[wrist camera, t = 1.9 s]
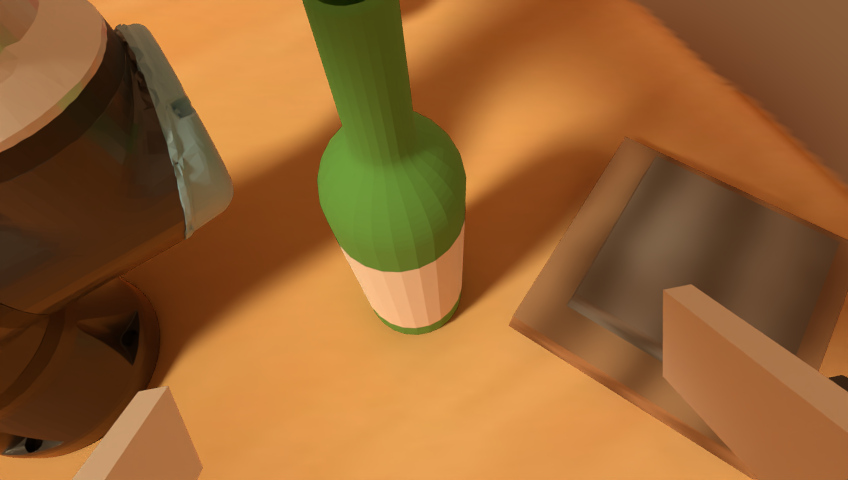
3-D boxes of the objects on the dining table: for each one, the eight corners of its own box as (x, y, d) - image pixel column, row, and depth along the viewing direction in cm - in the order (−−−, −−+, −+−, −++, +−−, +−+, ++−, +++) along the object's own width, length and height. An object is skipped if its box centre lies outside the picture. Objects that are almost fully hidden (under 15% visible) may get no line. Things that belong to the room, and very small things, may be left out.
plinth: (509, 325, 40) (517, 304, 34) (615, 155, 46) (637, 114, 41) (752, 478, 34) (809, 482, 29) (835, 261, 40) (895, 231, 35)
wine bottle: (480, 289, 41) (533, -42, 14) (420, 358, 39) (345, 126, 12) (413, 236, 44) (347, -133, 16) (353, 298, 41) (162, -8, 14)
